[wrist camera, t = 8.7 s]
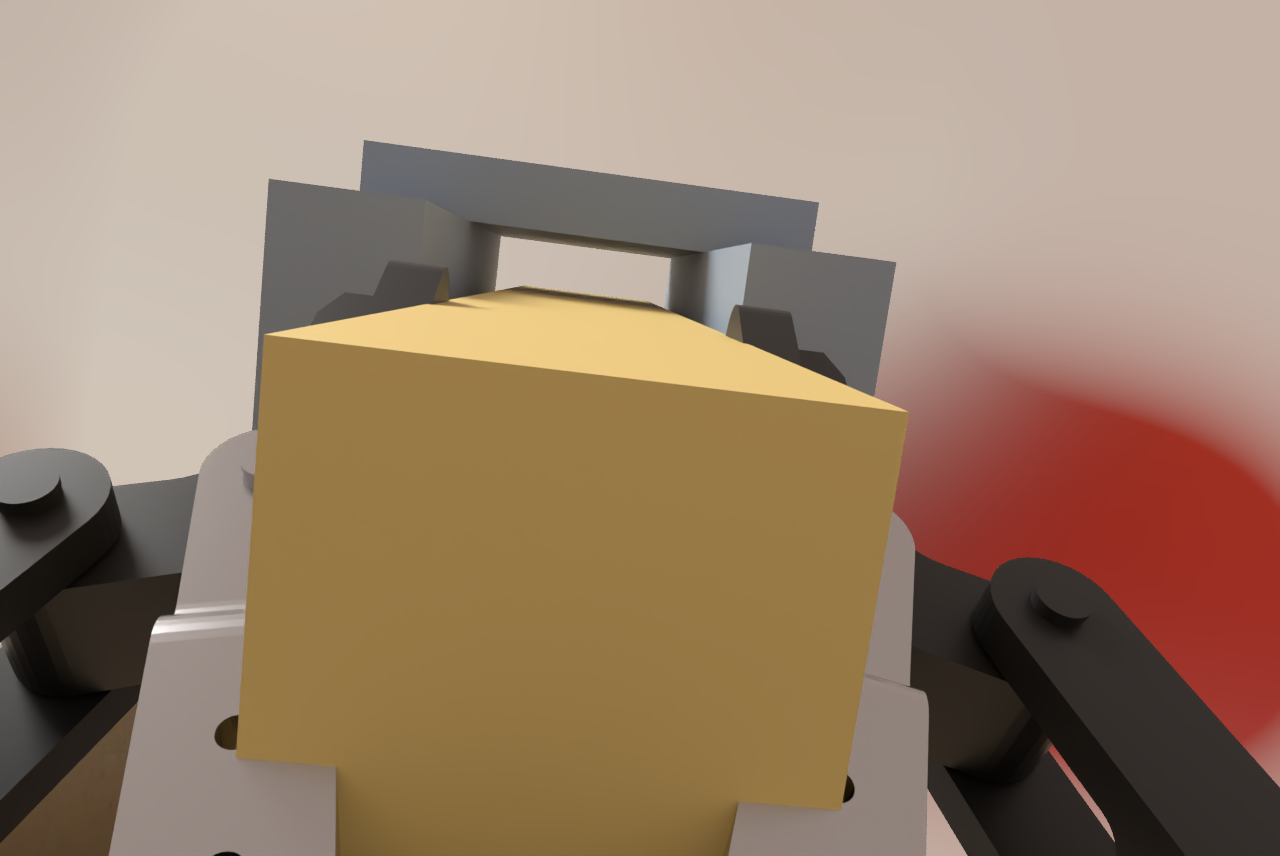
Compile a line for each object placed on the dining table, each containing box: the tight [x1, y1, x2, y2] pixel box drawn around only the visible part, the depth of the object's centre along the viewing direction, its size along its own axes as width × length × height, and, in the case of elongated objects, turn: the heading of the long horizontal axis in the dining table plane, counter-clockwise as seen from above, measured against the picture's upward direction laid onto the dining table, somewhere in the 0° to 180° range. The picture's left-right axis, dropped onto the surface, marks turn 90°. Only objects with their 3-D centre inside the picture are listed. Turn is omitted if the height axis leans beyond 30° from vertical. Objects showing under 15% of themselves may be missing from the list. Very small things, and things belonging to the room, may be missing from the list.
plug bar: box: [236, 286, 909, 856], centre depth 18 cm, size 24×4×4 cm, turn 3°
